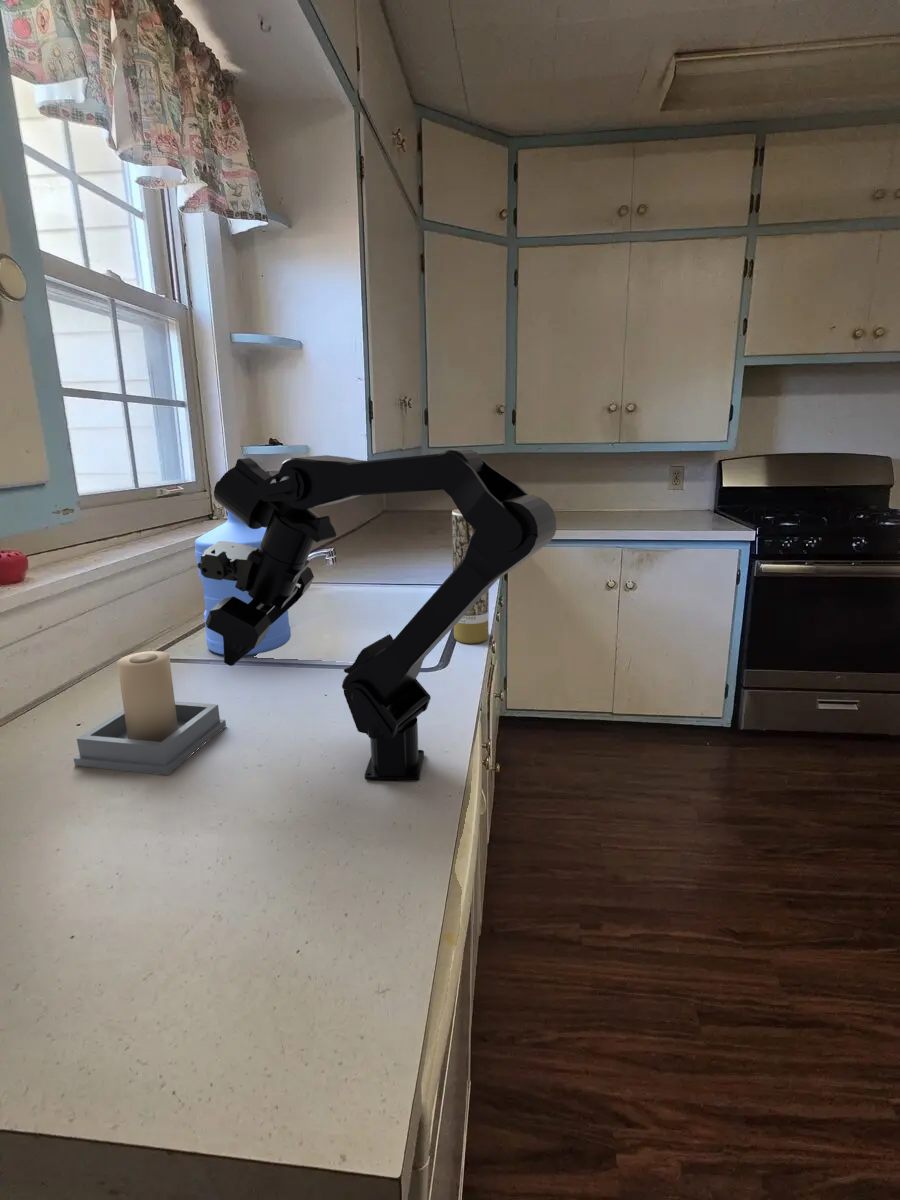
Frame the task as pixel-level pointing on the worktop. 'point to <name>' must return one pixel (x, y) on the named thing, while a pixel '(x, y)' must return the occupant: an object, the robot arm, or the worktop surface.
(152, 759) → the grey rimmed tray
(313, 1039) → the worktop surface
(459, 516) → the paper tube
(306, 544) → the robot arm
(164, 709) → the beige knobbed cylinder
